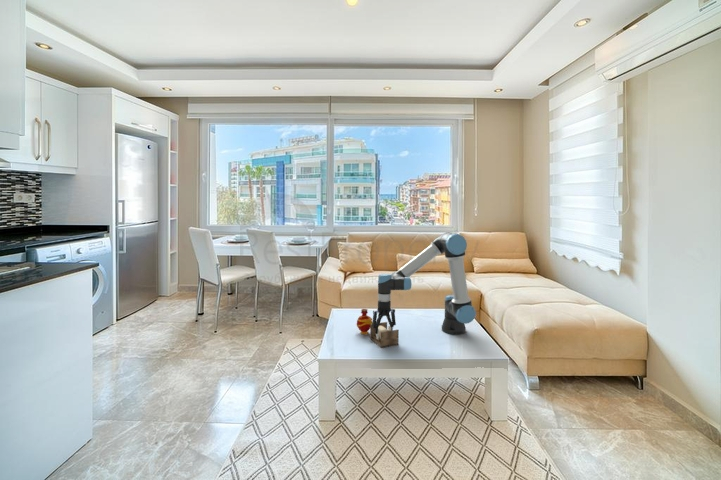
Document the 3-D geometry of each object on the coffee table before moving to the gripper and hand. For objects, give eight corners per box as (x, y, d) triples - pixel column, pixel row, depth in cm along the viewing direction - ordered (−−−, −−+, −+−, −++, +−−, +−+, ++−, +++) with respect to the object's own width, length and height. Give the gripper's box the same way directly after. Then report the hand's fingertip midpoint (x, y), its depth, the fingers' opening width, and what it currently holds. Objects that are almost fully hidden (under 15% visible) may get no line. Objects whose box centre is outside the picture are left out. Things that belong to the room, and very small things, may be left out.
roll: (384, 336, 212) (385, 325, 212) (392, 343, 202) (394, 331, 201) (373, 336, 210) (375, 325, 209) (382, 343, 199) (383, 331, 199)
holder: (386, 335, 215) (386, 321, 214) (398, 345, 201) (398, 329, 200) (370, 338, 211) (370, 324, 210) (381, 347, 197) (381, 332, 196)
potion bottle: (358, 336, 214) (358, 312, 213) (355, 330, 225) (355, 307, 223) (374, 335, 216) (374, 311, 215) (370, 329, 227) (370, 307, 225)
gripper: (396, 297, 211) (395, 333, 213) (366, 300, 203) (365, 338, 205) (402, 300, 204) (401, 337, 206) (371, 303, 196) (370, 342, 198)
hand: (383, 337), depth 205 cm, fingers open, 7 cm apart
